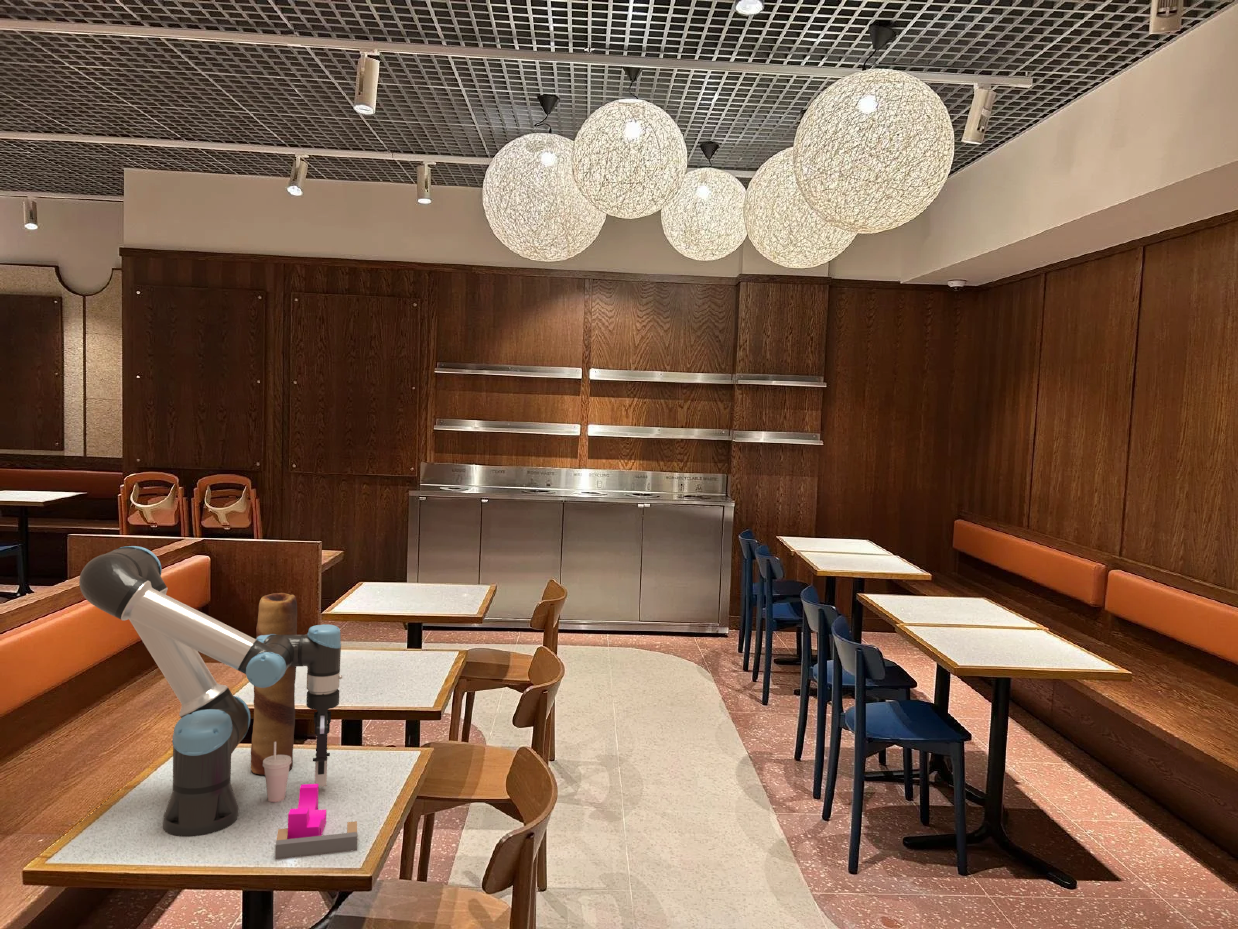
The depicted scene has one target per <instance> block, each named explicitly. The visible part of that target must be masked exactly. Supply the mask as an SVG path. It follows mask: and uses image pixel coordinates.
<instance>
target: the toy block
mask: <svg viewBox="0 0 1238 929" xmlns="http://www.w3.org/2000/svg"><path fill="white" fill-rule="evenodd" d="M319 788H320V787H319V784H315V783H305V784H304V783H303V784H302V783H301V785H300V786H299V796H298V803H297V804H298V805H297V808H290V809H289V812H288V814H287V828H288V839H294V838H304V837H313V836H323V832H324V829H325V826H326V824H327V809H319Z"/></svg>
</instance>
